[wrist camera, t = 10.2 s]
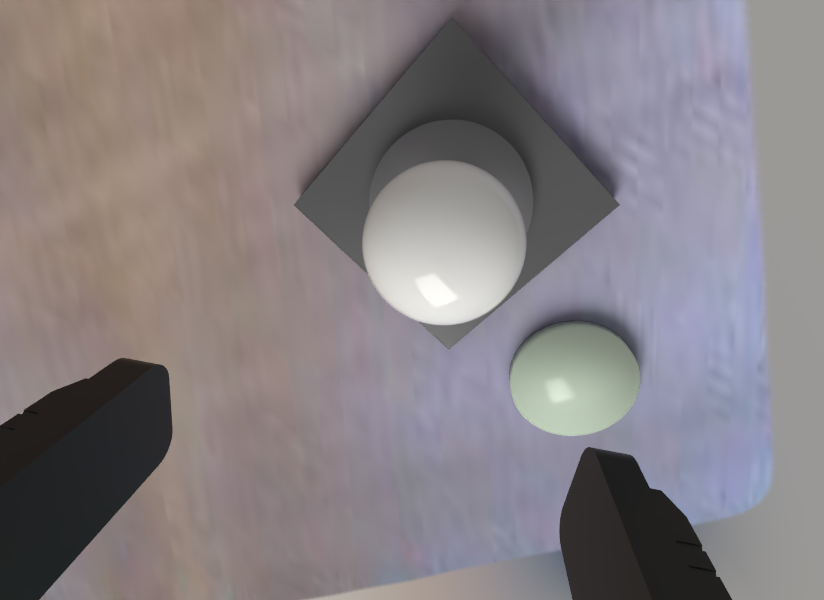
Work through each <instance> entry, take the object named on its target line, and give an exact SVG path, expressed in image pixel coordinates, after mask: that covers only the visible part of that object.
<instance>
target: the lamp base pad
mask: <svg viewBox="0 0 824 600" xmlns="http://www.w3.org/2000/svg"><path fill="white" fill-rule="evenodd" d="M435 160H455V161H461V162H465V163H469V164H472V165H475V166H477V167H479V168H481V169H483V170H485V171H487V172H488V173H490V174H492V175H493V176H494V177H496V178H497V179H498V180H499V181H500V182H501V183H502V184H503V185H504V186H505V187H506V188H507V189H508V190H509V192H510V193H511V194H512V196H513V197H514V199H515V201H516V202H517V204H518V206H519V208H520V211H521V213H522V216H523V219H524V223H525V228H526V237H527V248H526V256H525V261H524V265H523V268H522V271H521V273H520V276H519V278H518V280H517V282H516V283H515V285H514V287H513V288H512V290H511V291H510V292H509V294H508V295H507V296H506V297H505V298H504V300H503V301H502V302H501V303H499V304H498V305H497V306H496V307H495V308H493V309H492V310H491V311H489V312H488V313H486V314H484V315H483V316H481V317H479V318H476V319H474V320H471V321H469V322H465V323H461V324H456V325H432V324H426V323H422V322H420V323H421V324H422V325H423V326H424V327H425V328H426V329H427V330H428V331H429V332H430V333H431V334H432V335H434V336H435V337H436V338H437V339H438V340H439V341H440V342H441V343H442V344H443V345H444V346H445V347H446V348H447V349H450V348H451V347H452V346H453V345H455V344H456V343H457V342H458V341H459V340H461V339H462V338H463V337H464V336H465V335H466V334H468V333H469V332H470V331H471V330H472V329H474V328H475V327H476V326H477V325H478V324H479V323H481V322H482V321H483V320H484V319H485V318H487V317H488V316H489V315H490V314H491V313H492V312H494V311H495V310H496V309H497V308H498V307H500V306H501V305H502V304H503V303H504V302H505V301H507V300H508V299H509V298H510V297H511V296H513V295H514V294H515V293H516V292H517V291H518V290H520V289H521V288H522V287H523V286H524V285H526V284H527V283H528V282H529V281H530V280H531V279H533V278H534V277H535V276H536V275H537V274H539V273H540V272H541V271H542V270H543V269H544V268H546V267H547V266H548V265H549V264H550V263H552V262H553V261H554V260H555V259H556V258H557V257H559V256H560V255H561V254H562V253H563V252H565V251H566V250H567V249H568V248H569V247H571V246H572V245H573V244H574V243H575V242H576V241H578V240H579V239H580V238H581V237H582V236H584V235H585V234H586V233H587V232H588V231H589V230H591V229H592V228H593V227H594V226H595V225H597V224H598V223H599V222H600V221H601V220H602V219H604V218H605V217H606V216H607V215H608V214H610V213H611V212H612V211H613V210H614V209H615V208H617V207H618V206H619V205H620V204H619V203H618V202H617V201H616V200H615V199H614V198H613V197H612V196H611V194H610V193H609V192H608V191H607V190H606V189H605V188H604V187H603V185H602V184H601V183H600V182H599V181H598V180H597V179H596V178H595V177H594V175H593V174H592V173H591V172H590V171H589V170H588V169H587V168H586V167H585V165H584V164H583V163H582V162H581V161H580V160H579V159H578V158H577V156H576V155H575V154H574V153H573V152H572V151H571V150H570V149H569V148H568V146H567V145H566V144H565V143H564V142H563V141H562V140H561V139H560V138H559V136H558V135H557V134H556V133H555V132H554V131H553V130H552V129H551V127H550V126H549V125H548V124H547V123H546V122H545V121H544V120H543V119H542V117H541V116H540V115H539V114H538V113H537V112H536V111H535V110H534V109H533V107H532V106H531V105H530V104H529V103H528V102H527V101H526V100H525V98H524V97H523V96H522V95H521V94H520V93H519V92H518V91H517V90H516V88H515V87H514V86H513V85H512V84H511V83H510V82H509V81H508V79H507V78H506V77H505V76H504V75H503V74H502V73H501V72H500V71H499V69H498V68H497V67H496V66H495V65H494V64H493V63H492V62H491V61H490V59H489V58H488V57H487V56H486V55H485V54H484V53H483V52H482V50H481V49H480V48H479V47H478V46H477V45H476V44H475V43H474V42H473V40H472V39H471V38H470V37H469V36H468V35H467V34H466V33H465V32H464V30H463V29H462V28H461V27H460V26H459V25H458V24H457V23H456V21H455V20H454V19H453V18H451V19H450V20H449V21H448V22H447V24H446V25H445V26H444V27H443V28H442V29H441V31H440V32H439V33H438V34H437V35H436V37H435V38H434V39H433V40H432V41H431V43H430V44H429V45H428V46H427V47H426V48H425V50H424V51H423V52H422V53H421V54H420V56H419V57H418V58H417V59H416V60H415V62H414V63H413V64H412V65H411V66H410V67H409V69H408V70H407V71H406V72H405V73H404V75H403V76H402V77H401V78H400V79H399V81H398V82H397V83H396V84H395V85H394V86H393V88H392V89H391V90H390V91H389V92H388V94H387V95H386V96H385V97H384V98H383V100H382V101H381V102H380V103H379V104H378V105H377V107H376V108H375V109H374V110H373V111H372V113H371V114H370V115H369V116H368V117H367V119H366V120H365V121H364V122H363V123H362V124H361V126H360V127H359V128H358V129H357V130H356V132H355V133H354V134H353V135H352V136H351V138H350V139H349V140H348V141H347V142H346V143H345V145H344V146H343V147H342V148H341V149H340V151H339V152H338V153H337V154H336V155H335V157H334V158H333V159H332V160H331V161H330V162H329V164H328V165H327V166H326V167H325V168H324V170H323V171H322V172H321V173H320V174H319V176H318V177H317V178H316V179H315V180H314V181H313V183H312V184H311V185H310V186H309V187H308V189H307V190H306V191H305V192H304V193H303V195H302V196H301V197H300V198H299V199H298V200H297V202H296V203H295V204H294V206H295V207H296V208H298V209H299V210H300V211H301V212H302V213H303V214H304V215H305V216H306V217H307V218H308V219H309V220H310V221H311V222H313V223H314V224H315V225H316V226H317V227H318V228H319V229H320V230H321V231H322V232H323V233H324V234H325V235H326V236H328V237H329V238H330V239H331V240H332V241H333V242H334V243H335V244H336V245H337V246H338V247H339V248H340V249H341V250H343V251H344V252H345V253H346V254H347V255H348V256H349V257H350V258H351V259H352V260H353V261H354V262H355V263H356V264H358V265H359V266H360V267H361V268H362V269H363V270H364V271H365V272H366V273H367V270H366V267H365V263H364V259H363V252H362V235H363V228H364V223H365V220H366V217H367V214H368V211H369V209H370V207H371V205H372V203H373V201H374V200H375V198H376V196H377V195H378V194H379V192H380V191H381V190H382V189H383V188H384V186H385V185H386V184H387V183H388V182H390V181H391V180H392V179H393V178H394V177H396V176H397V175H398V174H400V173H401V172H403V171H405V170H407V169H409V168H411V167H413V166H415V165H418V164H421V163H425V162H429V161H435ZM367 274H368V273H367Z"/></svg>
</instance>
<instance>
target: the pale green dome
mask: <svg viewBox="0 0 824 600" xmlns="http://www.w3.org/2000/svg"><path fill="white" fill-rule="evenodd" d="M509 380H510V388H511V394H512V398H513V401H514V403H515V405H516V407H517V409H518V410H519V412H520V413H521V414H522V415H523V416H524V418H526V419H527V420H528V421H529V422H530V423H532V424H533V425H535V426H536V427H538V428H540V429H542V430H544V431H547V432H550V433H554V434H558V435H565V436H579V435H586V434H591V433H595V432H598V431H600V430H603V429H605V428H607V427H609V426H611V425H613V424H614V423H615V422H617V421H618V420H619V419H621V418H622V417H623V416H624V415H625V414H626V413H627V412H628V411H629V409H630V408H631V406H632V405H633V404H634V402H635V400H636V398H637V395H638V392H639V388H640V370H639V366H638V363H637V361H636V359H635V357H634V355H633V353H632V352H631V350H630V349H629V348H628V346H627V345H626V344H625V342H624V341H623V340H622V339H621V338H620V337H619V336H618V335H617V334H615V333H614V332H613V331H611V330H609V329H607V328H605V327H603V326H600V325H598V324H594V323H590V322H584V321H567V322H561V323H556V324H553V325H550V326H547V327H545V328H543V329H541V330H539V331H537V332H536V333H534V334H533V335H531V336H530V337H529V338H528V339H527V340H526V341H525V342H524V343H523V344H522V345H521V346H520V347H519V349H518V350H517V352H516V354H515V356H514V357H513V360H512V363H511V367H510V373H509Z"/></svg>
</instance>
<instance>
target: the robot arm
mask: <svg viewBox="0 0 824 600" xmlns="http://www.w3.org/2000/svg"><path fill="white" fill-rule="evenodd" d="M171 439H172V415H171V400H170V385H169V374H168V371H167V369H166V368H165V367H164V366H163V365H159V364H153V363H148V362H143V361H138V360H132V359H127V358H120V359H117V360H116V361H114V362H112V363H111V364H110V365H108V366H107V367H105V368H104V369H102V370H101V371H99V372H98V373H96V374H95V375H94V376H92V377H91V378H89V379H83V380H80V381H78V382H75V383H73V384H70V385H68V386H65V387H63V388H60V389H57V390H55V391H52V392H51V393H49V394H48V395H46V396H45V397H43V398H42V399H40V400H38V401H37V402H35V403H34V404H32V405H31V406H29V407H28V408H26V409H25V410H24V412H23V414H17V415H16V416H14V417H13V418H11V419H10V420H8V421H7V422H5V423H4V424H2V425H0V600H39V599H40V598H41V597H42V596H43V595H44V594H45V592H46V591H47V590H48V589H49V588H50V587H51V586H52V585H53V583H54V582H55V581H56V580H57V579H58V578H59V577H60V576H61V574H62V573H63V572H64V571H65V570H66V569H67V568H68V567H69V565H70V564H71V563H72V562H73V561H74V560H75V559H76V558H77V556H78V555H79V554H80V553H81V552H82V551H83V550H84V549H85V547H86V546H87V545H88V544H89V543H90V542H91V541H92V540H93V538H94V537H95V536H96V535H97V534H98V533H99V532H100V531H101V529H102V528H103V527H104V526H105V525H106V524H107V523H108V522H109V520H110V519H111V518H112V517H113V516H114V515H115V514H116V513H117V511H118V510H119V509H120V508H121V507H122V506H123V505H124V504H125V502H126V501H127V500H128V499H129V498H130V497H131V496H132V495H133V494H134V492H135V491H136V490H137V489H138V488H139V487H140V486H141V485H142V483H143V482H144V481H145V480H146V479H147V478H148V477H149V476H150V474H151V473H152V472H153V471H154V470H155V469H156V468H157V467H158V465H159V464H160V463H161V462H162V460H163V459H164V457H165V455H166V453H167V451H168V449H169V446H170V443H171ZM560 544H561V549H562V554H563V558H564V563H565V567H566V572H567V576H568V581H569V585H570V590H571V594H572V599H573V600H732V599H731V597H730V595H729V593H728V592H727V590H726V588H725V586H724V584H723V582H722V581H721V579H720V577H716V570H715V568H714V566H713V564H712V563H711V561H710V559H709V557H708V555H707V553H706V552H705V551H702V544H701V543H700V541H699V539H698V537H697V535H696V533H695V532H694V530H693V528H692V526H691V524H690V523H689V521H688V519H687V517H686V516H685V515H684V514H683V513H682V512H681V511H680V510H679V509H678V508H677V507H676V506H675V505H674V503H673V502H672V501H671V500H670V499H669V498H668V497H667V496H666V495H665V494H664V493H663V492H662V491H661V490H656V489H651V488H649V486H648V484H647V482H646V480H645V478H644V476H643V474H642V472H641V470H640V467H639V465H638V463H637V462H636V460H635V458H634V457H633V456H631V455H628V454H622V453H617V452H612V451H607V450H601V449H596V448H591V447H588V448H586V449H585V450H584V452H583V454H582V456H581V458H580V461H579V464H578V467H577V469H576V472H575V475H574V478H573V481H572V483H571V486H570V489H569V492H568V494H567V497H566V500H565V503H564V506H563V509H562V513H561V518H560Z"/></svg>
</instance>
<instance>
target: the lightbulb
mask: <svg viewBox="0 0 824 600" xmlns="http://www.w3.org/2000/svg"><path fill="white" fill-rule="evenodd" d="M526 248H527V237H526V228H525V223H524V219H523V216H522V213H521V211H520V208H519V206H518V204H517V202H516V201H515V199H514V197H513V196H512V194H511V193H510V192H509V190H508V189H507V188H506V187H505V186H504V185H503V184H502V183H501V182H500V181H499V180H498V179H497V178H496V177H494V176H493V175H492V174H490V173H488V172H487V171H485V170H483V169H481V168H479V167H477V166H475V165H472V164H469V163H465V162H461V161H455V160H435V161H429V162H425V163H421V164H418V165H415V166H413V167H411V168H409V169H407V170H405V171H403V172H401V173H400V174H398V175H397V176H396V177H394V178H393V179H392V180H391V181H390V182H388V183H387V184H386V185H385V186H384V188H383V189H382V190H381V191H380V192H379V194H378V195H377V196H376V198H375V200H374V201H373V203H372V205H371V207H370V209H369V211H368V214H367V217H366V220H365V223H364V228H363V235H362V252H363V259H364V263H365V267H366V270H367V273H368V275H369V278H370V280H371V282H372V283H373V285H374V287H375V288H376V290H377V291H378V293H379V294H380V295H381V296H382V298H383V299H384V300H385V301H386V302H387V303H388V304H389V305H390V306H392V307H393V308H394V309H395V310H397V311H398V312H400V313H401V314H403V315H405V316H407V317H409V318H411V319H413V320H416V321H419V322H422V323H426V324H432V325H456V324H461V323H465V322H469V321H471V320H474V319H476V318H479V317H481V316H483V315H484V314H486V313H488V312H489V311H491V310H492V309H493V308H495V307H496V306H497V305H498V304H499V303H501V302H502V301H503V300H504V298H505V297H506V296H507V295H508V294H509V292H510V291H511V290H512V288H513V287H514V285H515V283H516V282H517V280H518V278H519V276H520V273H521V271H522V268H523V265H524V261H525V256H526Z"/></svg>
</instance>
